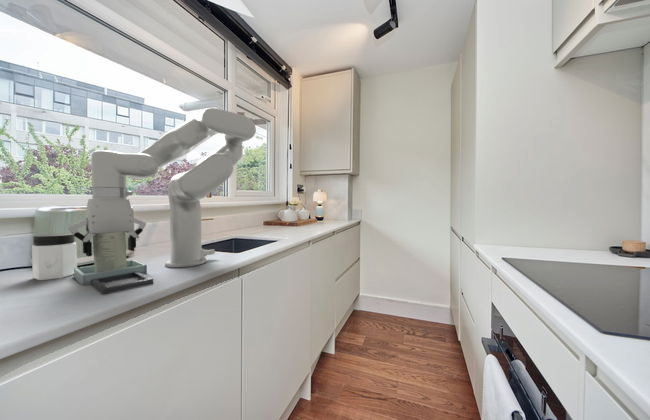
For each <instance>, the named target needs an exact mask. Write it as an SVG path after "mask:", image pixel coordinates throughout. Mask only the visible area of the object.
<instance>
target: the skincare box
mask: <svg viewBox="0 0 650 420" xmlns="http://www.w3.org/2000/svg"><path fill="white" fill-rule="evenodd" d="M126 242H127V241H126V232H112V233H105V234H95V235H94V236H93V237H92V244H93V247H92V248H93V262H94V263H93V265H94V266H95V273H99V272H105V271H111V270H117V269H123V268H127V245H126V244H127V243H126Z"/></svg>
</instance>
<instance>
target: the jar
mask: <svg viewBox="0 0 650 420" xmlns="http://www.w3.org/2000/svg"><path fill="white" fill-rule="evenodd" d="M32 241H33V243H32V245H31V259H32V260H31V261H32V262H31V263H32V264H31V266H32V279H35V280H36V281H47V280H55V279H64V278H66V277H70V276H74V275H73V274H74V268H78V258H77V257H78V254H77V253H78V252H77V249H78V248H77V242H76V237H75V236H74V235H73V234H72V233H71V232H59V233H57V232H55V233H43V234H36V235H34V236H32Z"/></svg>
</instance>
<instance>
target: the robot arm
mask: <svg viewBox="0 0 650 420" xmlns="http://www.w3.org/2000/svg"><path fill="white" fill-rule="evenodd" d="M256 132H257V127H256V124H255V123H254V121H253V120H252V119H251V118H249V117H248V116H246V115H243V114H240V113H235V112H232V111H228V110H224V109H221V108H216V107H207V108H205V109H203V110H201V111H200V112H199V113H198V114H196V115H194V116H193V117H190V118H189V119H187V120H186V121H184V122H183V123H181V124H179V125H178V126H176V127H174V128H172V129H171V130H168V132H166V133H164V135H162V136H161V137H160V138H159V139H158V140H157V141H155V142H154V143H152V144H151V145H149V146H147V147H145V149H143V150H141V151H139V152H138V153H131V152H129V153H127V152H126V153H123V152H118V151H113V150H99V149H98V150H95V151H93V152H92V154H91V183H92V184H91V187H92V189H91V190H92V198H88V201H87V203H86V211H85V219H83V220H81V221H79V222H76V223H74V224H71V225H69V226H68V227H67V228H68V230H69V232H70V233H72V234H73V235H74V236H75V238H76V239H79V240H80V241H81V242H82V253H83V254H85V256H87V257H91V256H92V255H93V251H92V250H93V249H92V248H93V247H92V244H93V241H92V242H91V239H93V236H94V235H95V234H105V233H112V232H125V234H126V235H128V236H129V237H128V238H127V250H128V251H131V252H134V251H135V248H137V237H138V236H139V235H141V233H143V231H144V228H145V227H146V225H147V223H146V222H144V221H142V220H139V219H137V218H134V216H133V211H132V207H131V202H130V199H128V196H129V197H130V196H133V191H131V190H128V188H127V177H129V179H132V180H136V181H143V180H146V179H149V178H152V177H155V175H156V174H157V172H158V170H160V169H162V168H163V167H164V166H166V165H168V164H169V163H171V162H172V161H175V160H177V159H180V158H181V157H183V156H185V155H187V154H188V153H190V152H192V151H193V150H194V149H196V148H197V147H199V146H200V145H202V144H203V143H205V142H206V141H208V140H209V139H211V138H212V137H214V136H215V135H217V134H222V143H221V145H219V146H218V147H216V149H215V150H212V151H211V152H210V153H208V154H207V155H205V156H203V157H202V158H200V159H199V160H198V162H197V163H196V165H195V166H193V167H192V168H190V169H188V170H187V171H184V172H180V173H178V174H175V175H174V176H172V177H171V179H170V180H169V183H168V185H167V195H168V200H169V201H168V202H169V227H170V228H169V236H170V237H169V238H170V239H169V240H170V243H169V244H170V247H169V248H170V251H169V252H170V259H168V260H166V261H165V262H164V266H165V267H168V268H187V267H193V266H194V267H195V266H199V265H203V264H205V263H206V262H207V257H208V256H211V255H215V254H216V252H215V251H216V250H215V249H214V248H213V249H205V248H202V206H201V201H200V200H202V199H204V198H206V197H207V196H208V195H210V194H211V193H213V191H215V190H216V189H217V188H219V187H220V186H222V184H224V183H225V182H226V181H227V180H229V178H231V176H232V175H233V173H234V172H233V171H234V166H235V165H236V164H237V163H239V161H240V160H241V158H242V156H243V143H244V142H246V141H249V140H251V139H252V138H254V136H255V135H256ZM134 224H136V225H138V227H137V228H136V229H135V230H133V229H134ZM84 226H85V232H86V233H85V234H82V233H80V231H79V230H78V229H79V228H81V227H84Z"/></svg>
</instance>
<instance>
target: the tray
mask: <svg viewBox="0 0 650 420" xmlns="http://www.w3.org/2000/svg"><path fill="white" fill-rule="evenodd" d="M126 260H127V259H126ZM147 268H148V267H147V264H145V263H142V262H139V261H137V260H135V259H129V260H127V268H123V269H117V270H111V271H105V272H99V273H95V266H94V264H93V265H87V266H80V267H77V268H74V275H73V278H75V280H76V281H78V282H79V283H80V284H81V285H82V286H86V285H92V284H91V280H92V279H97V278H103V277H109V276H114V275H120V274H126V273H131V272H137V271H138V272H140V273H142V274H144V275H147V271H148V269H147Z"/></svg>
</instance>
